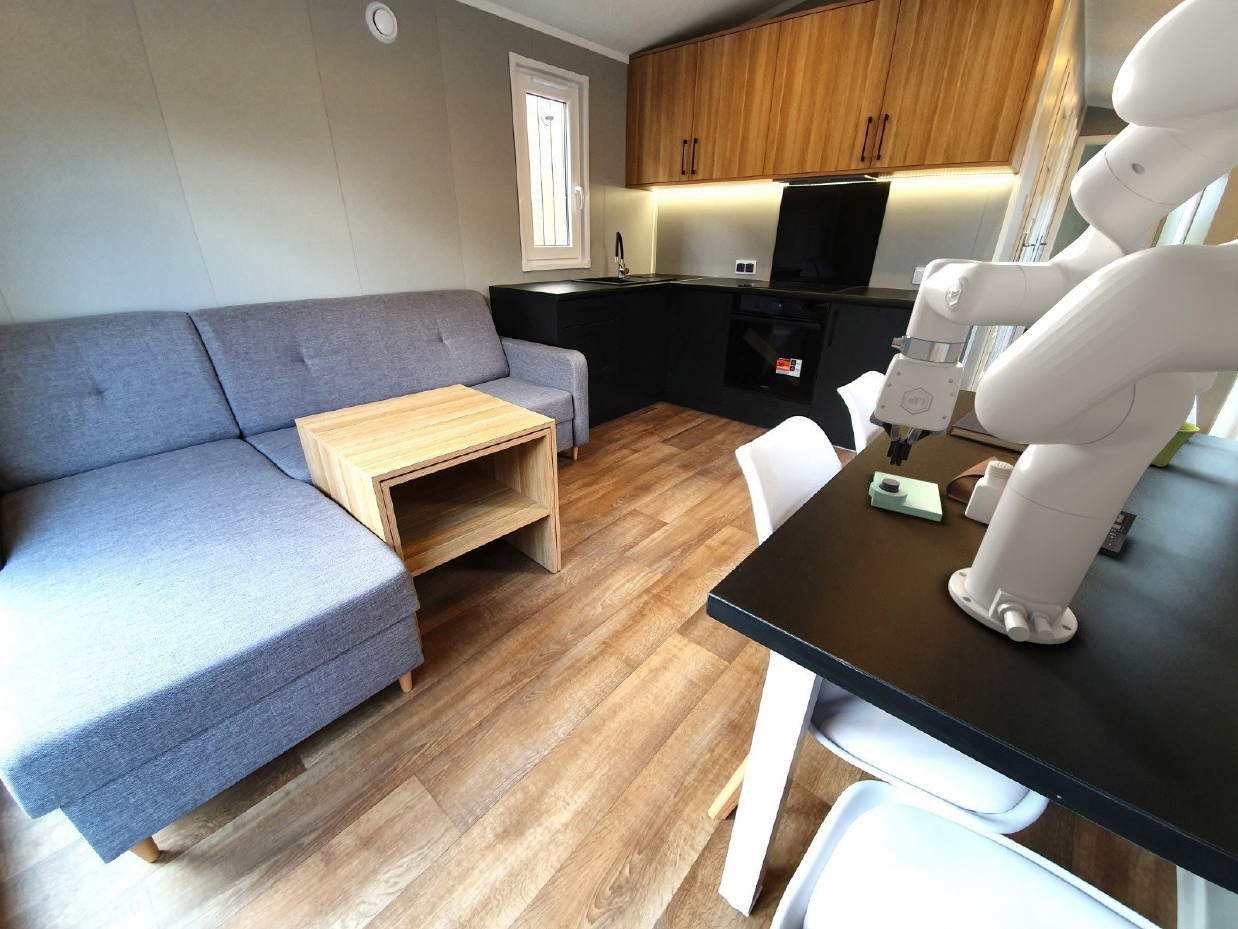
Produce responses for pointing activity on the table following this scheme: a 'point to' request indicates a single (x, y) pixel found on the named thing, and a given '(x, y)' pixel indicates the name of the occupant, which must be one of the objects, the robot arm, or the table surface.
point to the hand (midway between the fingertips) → (894, 462)
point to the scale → (907, 497)
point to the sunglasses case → (967, 482)
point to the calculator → (1117, 534)
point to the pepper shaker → (989, 492)
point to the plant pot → (1175, 444)
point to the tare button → (890, 485)
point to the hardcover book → (982, 433)
